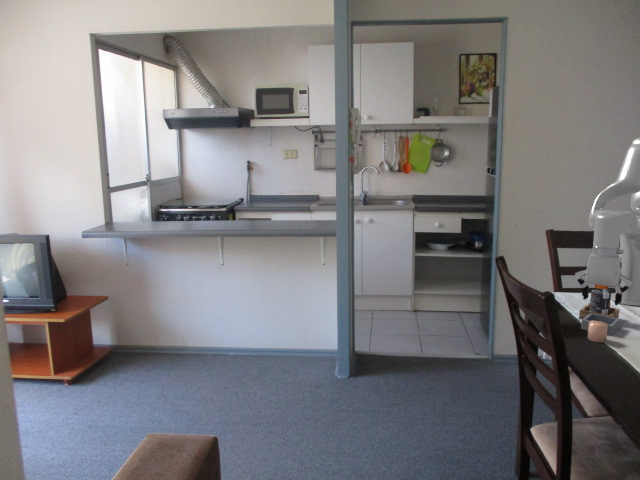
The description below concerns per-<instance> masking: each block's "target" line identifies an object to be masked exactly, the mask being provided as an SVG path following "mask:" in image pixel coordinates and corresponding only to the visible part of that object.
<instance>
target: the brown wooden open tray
mask: <svg viewBox="0 0 640 480" xmlns="http://www.w3.org/2000/svg"><path fill="white" fill-rule="evenodd" d="M589 310H590V302H588V303H587V304H586V305H585V306H583V307H582V308H581V309H579V313H578V314H579V316H578V319H579V320H580V319H583V318H585V317H586V316H587V315H588V314H590V313H593V314H598V315H603V316H608V317H613V318H618V319H620V317H619V316H620V308H616V307H611V306H610V311H609V315H606V314H601V313H596V312H591V311H589Z"/></svg>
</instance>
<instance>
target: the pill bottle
mask: <svg viewBox="0 0 640 480" xmlns="http://www.w3.org/2000/svg"><path fill="white" fill-rule="evenodd" d="M609 289H610V287H608V286H604V285H598V284H594V288H593V289H592V290H591V291H590V300H589V303H590V310H589V311H591V312H596V313H601V314H606V315H609V311H610V307H611V301H612V300H611V295H612V292H611V290H609Z"/></svg>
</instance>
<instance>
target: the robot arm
mask: <svg viewBox="0 0 640 480" xmlns="http://www.w3.org/2000/svg"><path fill="white" fill-rule="evenodd" d="M616 178H617V179H616V180H615V182H613V183H612V184H610V185H608V186H607V187H605V189H603V190H602V191H601V192H600V193H599V194H598V195H597V196H596V197H595V199H594V201H593V204H592V207H591V209H590V211H589V216H588V224H589V227H590V228H591V229H592V230H594V231H593V243H592V245H593V246H592V252H591V253H590V255H589V257H588V259H587V260H588V261H587V265H586V269H584V270H579V271H577V272H575V273H574V275H575V278H576V280H577V282H578V283H579V285H581V289H582V291H581V292H582V293H581V296H582V297H583V298H582V299H583V300H587V299H588V298H589V293H590V291H589V290H590V287H589V285H590V284H591V285H595V284H598V285H604V286H608V287H609V288H613V289H615V293H611V301H613V302H614V305H615V306H618V305H621V304H622V305H627V306H636V307H637V306H638V307H640V215H637V214H635V213H633V212H636V213H640V136H639V137H637V138H635V139H633V140H632V142H631V145H630V147H628V148H627V150H626V153H625V156H624V159H623V162H622V164H621V167H620V169H619V173H618V175H617V177H616ZM628 196H630V197H631V198H630V209H631V210H632V211H633V212H632V211H627V210H619V209H618V210H617V209H611V208H610V209H608V208H607V206H608V205H609V204H611V202H614V201H615V200H618V199H620V198H624V197H628ZM583 275H585V279H583V278H582V276H583Z"/></svg>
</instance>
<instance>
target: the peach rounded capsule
mask: <svg viewBox="0 0 640 480" xmlns="http://www.w3.org/2000/svg"><path fill="white" fill-rule="evenodd" d="M607 328H608V324H607V323H605V322H601V321H590V322H589V329H588V330H587V339H588V340H589V341H591V342H594V343H606V342H607V337H608V335H607Z"/></svg>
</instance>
